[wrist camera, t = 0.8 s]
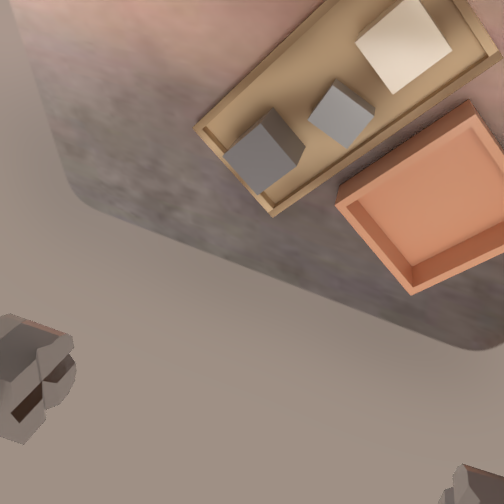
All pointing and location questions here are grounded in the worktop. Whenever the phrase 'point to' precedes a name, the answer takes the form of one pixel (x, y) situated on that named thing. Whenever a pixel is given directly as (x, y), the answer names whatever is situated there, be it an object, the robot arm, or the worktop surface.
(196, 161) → the worktop surface
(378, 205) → the terracotta dish
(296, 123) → the oak tray
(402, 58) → the beige cube
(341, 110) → the light grey block
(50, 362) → the robot arm
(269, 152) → the charcoal cube
